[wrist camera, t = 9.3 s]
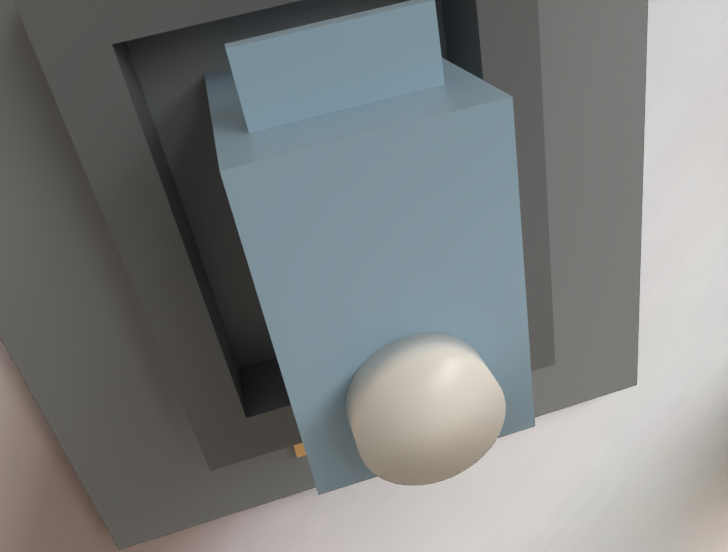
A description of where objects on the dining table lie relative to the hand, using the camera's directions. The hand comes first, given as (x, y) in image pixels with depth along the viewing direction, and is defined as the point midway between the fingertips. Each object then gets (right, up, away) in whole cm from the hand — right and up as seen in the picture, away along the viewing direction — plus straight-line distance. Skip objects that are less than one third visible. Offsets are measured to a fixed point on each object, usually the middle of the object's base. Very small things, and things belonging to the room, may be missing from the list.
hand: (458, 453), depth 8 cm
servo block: (-2, +4, +7) cm, 9 cm away
